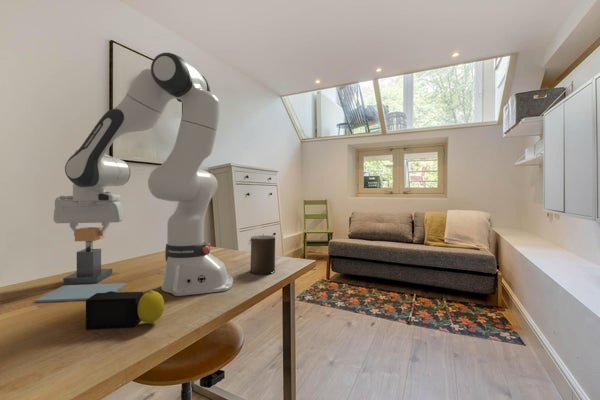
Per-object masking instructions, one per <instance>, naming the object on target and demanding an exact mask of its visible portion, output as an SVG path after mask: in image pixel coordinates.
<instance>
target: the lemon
mask: <svg viewBox="0 0 600 400" xmlns="http://www.w3.org/2000/svg"><path fill="white" fill-rule="evenodd" d="M164 310H165V301H164V297H163V295H162V294H161V293H160V292H158V291H156V290H155V291H154V290H153V289H151V290H148V292H146V293H143V296H142V297H141V298H140V300H139V303H138V308H137V311H138V316H139V318H140V319H141V320H142V321H141V322H143V323H147V324H148V325H153V324H154V322H156V321H158V320H159V319H160V318H161V317H162V316H163V313H164Z"/></svg>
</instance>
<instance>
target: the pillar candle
mask: <svg viewBox="0 0 600 400" xmlns="http://www.w3.org/2000/svg"><path fill="white" fill-rule="evenodd" d="M275 270H276V236H274V235H265V234H264V233H262V235H261V234H260V235H254V236H253V235H252V236H251V237H250V273H252V274H255V273H256V275H266V274H265V273H271V272H273V271H274V272H276V271H275ZM274 272H273V273H274ZM271 274H272V273H271Z"/></svg>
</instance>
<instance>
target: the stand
mask: <svg viewBox="0 0 600 400" xmlns="http://www.w3.org/2000/svg"><path fill="white" fill-rule="evenodd" d="M112 275H113V268H102V248H94V241H85V248H84V249H81V250H79V251H76V272H74V273H72V274H70V275H67V276H65V277H63V278H62V285H88V284H100V282H101V281H103V280H105V279H107V278H108V277H110V276H112Z"/></svg>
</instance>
